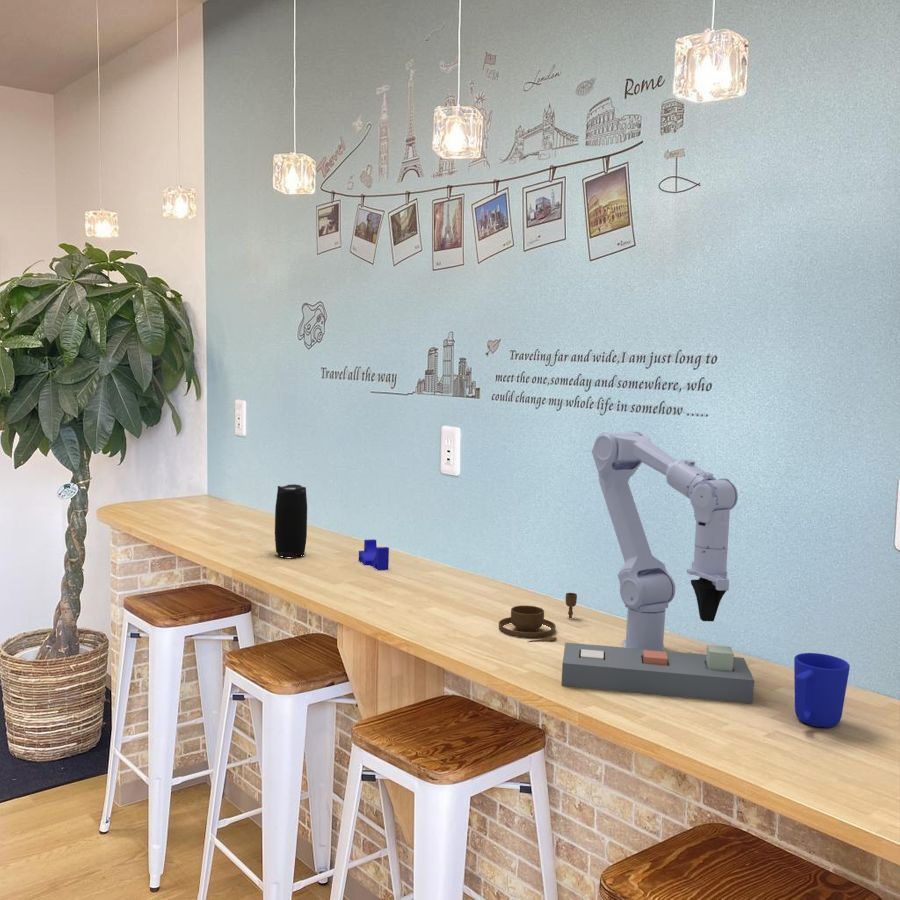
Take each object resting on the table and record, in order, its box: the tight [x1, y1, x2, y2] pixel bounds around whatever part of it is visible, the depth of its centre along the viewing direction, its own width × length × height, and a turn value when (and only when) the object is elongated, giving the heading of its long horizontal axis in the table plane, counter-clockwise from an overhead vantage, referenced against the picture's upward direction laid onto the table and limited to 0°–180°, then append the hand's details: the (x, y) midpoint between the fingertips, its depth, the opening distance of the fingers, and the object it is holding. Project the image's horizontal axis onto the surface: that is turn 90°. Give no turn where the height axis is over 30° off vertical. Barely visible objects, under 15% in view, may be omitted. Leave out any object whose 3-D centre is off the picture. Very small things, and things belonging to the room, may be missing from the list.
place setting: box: [498, 592, 578, 643], centre depth 191 cm, size 18×20×6 cm
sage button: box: [706, 644, 735, 671], centre depth 159 cm, size 4×4×4 cm
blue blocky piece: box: [358, 538, 390, 571], centre depth 244 cm, size 12×4×6 cm, turn 23°
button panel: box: [561, 642, 755, 704], centre depth 161 cm, size 12×32×4 cm, turn 80°
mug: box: [793, 652, 851, 728], centre depth 144 cm, size 8×12×10 cm
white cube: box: [581, 649, 604, 660], centre depth 162 cm, size 4×4×4 cm
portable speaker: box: [274, 483, 308, 558], centre depth 251 cm, size 9×9×20 cm
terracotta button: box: [643, 650, 668, 666], centre depth 161 cm, size 4×4×4 cm
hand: (707, 620), depth 164 cm, fingers closed
